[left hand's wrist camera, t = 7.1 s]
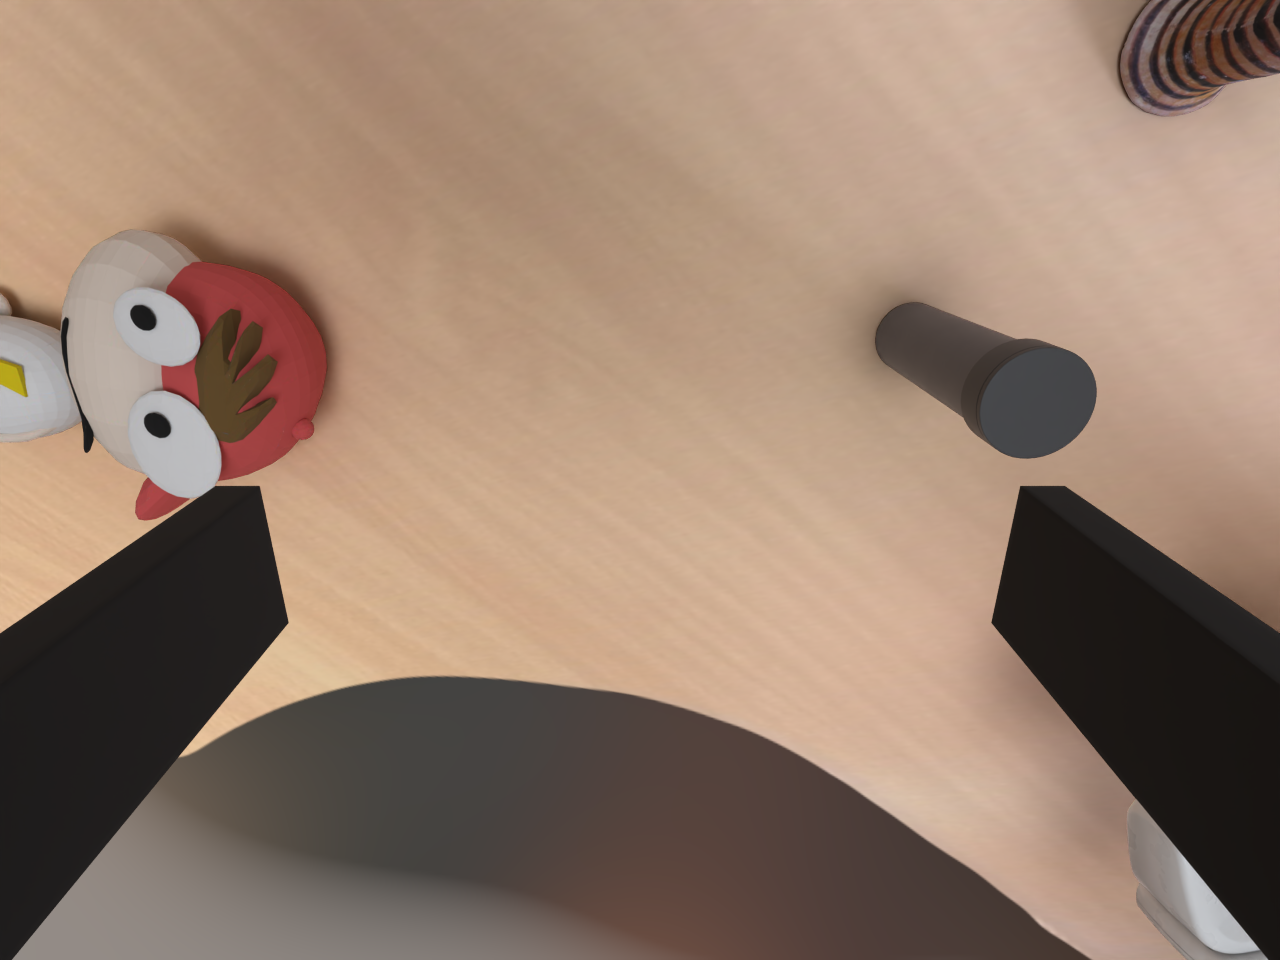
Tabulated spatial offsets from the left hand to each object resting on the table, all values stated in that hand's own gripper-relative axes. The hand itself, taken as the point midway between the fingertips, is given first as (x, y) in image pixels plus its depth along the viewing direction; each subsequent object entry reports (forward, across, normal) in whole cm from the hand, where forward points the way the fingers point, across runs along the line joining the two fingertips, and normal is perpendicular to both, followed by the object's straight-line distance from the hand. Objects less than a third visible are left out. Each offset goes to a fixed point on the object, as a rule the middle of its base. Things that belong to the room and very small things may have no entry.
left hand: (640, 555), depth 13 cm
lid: (+20, +18, -3) cm, 27 cm away
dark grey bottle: (+36, +18, -3) cm, 40 cm away
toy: (+36, -34, -4) cm, 50 cm away
